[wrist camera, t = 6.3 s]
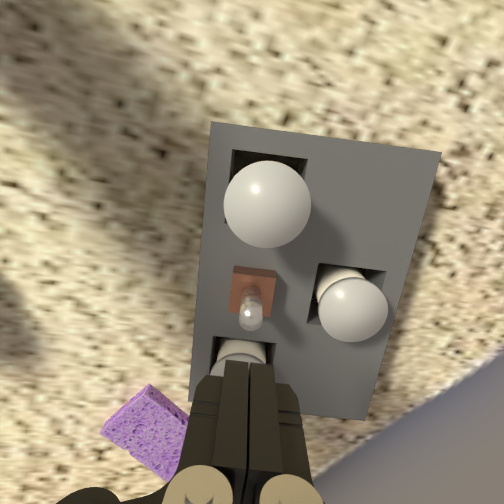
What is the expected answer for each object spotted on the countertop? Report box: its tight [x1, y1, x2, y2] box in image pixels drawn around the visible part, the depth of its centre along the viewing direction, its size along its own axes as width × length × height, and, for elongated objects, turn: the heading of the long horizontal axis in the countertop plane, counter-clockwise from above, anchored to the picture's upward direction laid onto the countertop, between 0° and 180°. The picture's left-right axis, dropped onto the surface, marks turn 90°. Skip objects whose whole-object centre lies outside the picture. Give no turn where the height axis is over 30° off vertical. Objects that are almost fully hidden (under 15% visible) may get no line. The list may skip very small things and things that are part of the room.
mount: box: [188, 121, 442, 421], centre depth 27 cm, size 22×15×4 cm
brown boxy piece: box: [228, 265, 276, 331], centre depth 23 cm, size 3×3×5 cm
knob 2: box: [224, 161, 311, 248], centre depth 21 cm, size 5×5×6 cm
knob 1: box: [210, 337, 266, 377], centre depth 28 cm, size 5×5×6 cm
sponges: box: [99, 384, 189, 483], centre depth 35 cm, size 7×13×2 cm, turn 43°
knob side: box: [313, 263, 388, 342], centre depth 26 cm, size 5×5×6 cm
